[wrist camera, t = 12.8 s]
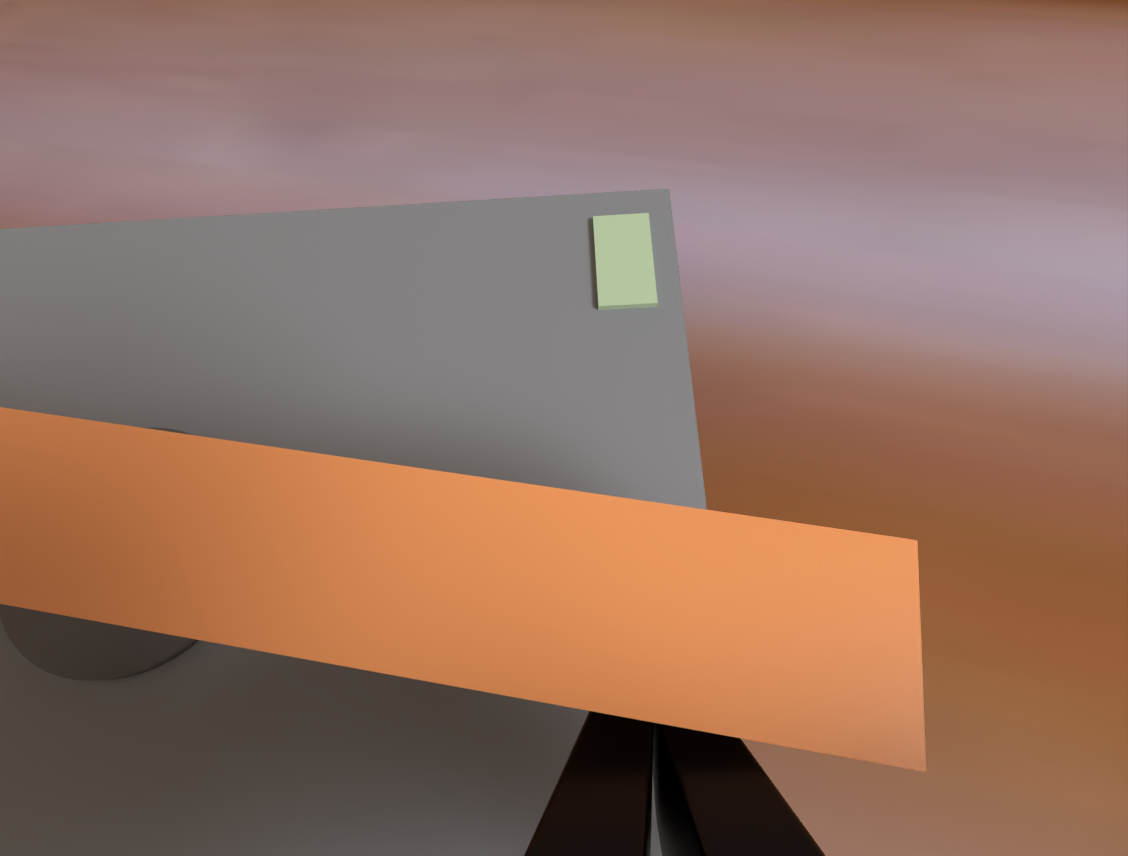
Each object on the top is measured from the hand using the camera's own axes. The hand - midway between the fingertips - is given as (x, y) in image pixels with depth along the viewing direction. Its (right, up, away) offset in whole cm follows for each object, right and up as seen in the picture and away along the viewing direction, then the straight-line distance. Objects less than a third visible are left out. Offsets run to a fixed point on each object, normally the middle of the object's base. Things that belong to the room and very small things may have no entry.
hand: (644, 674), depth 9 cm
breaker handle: (-12, +1, +6) cm, 13 cm away
